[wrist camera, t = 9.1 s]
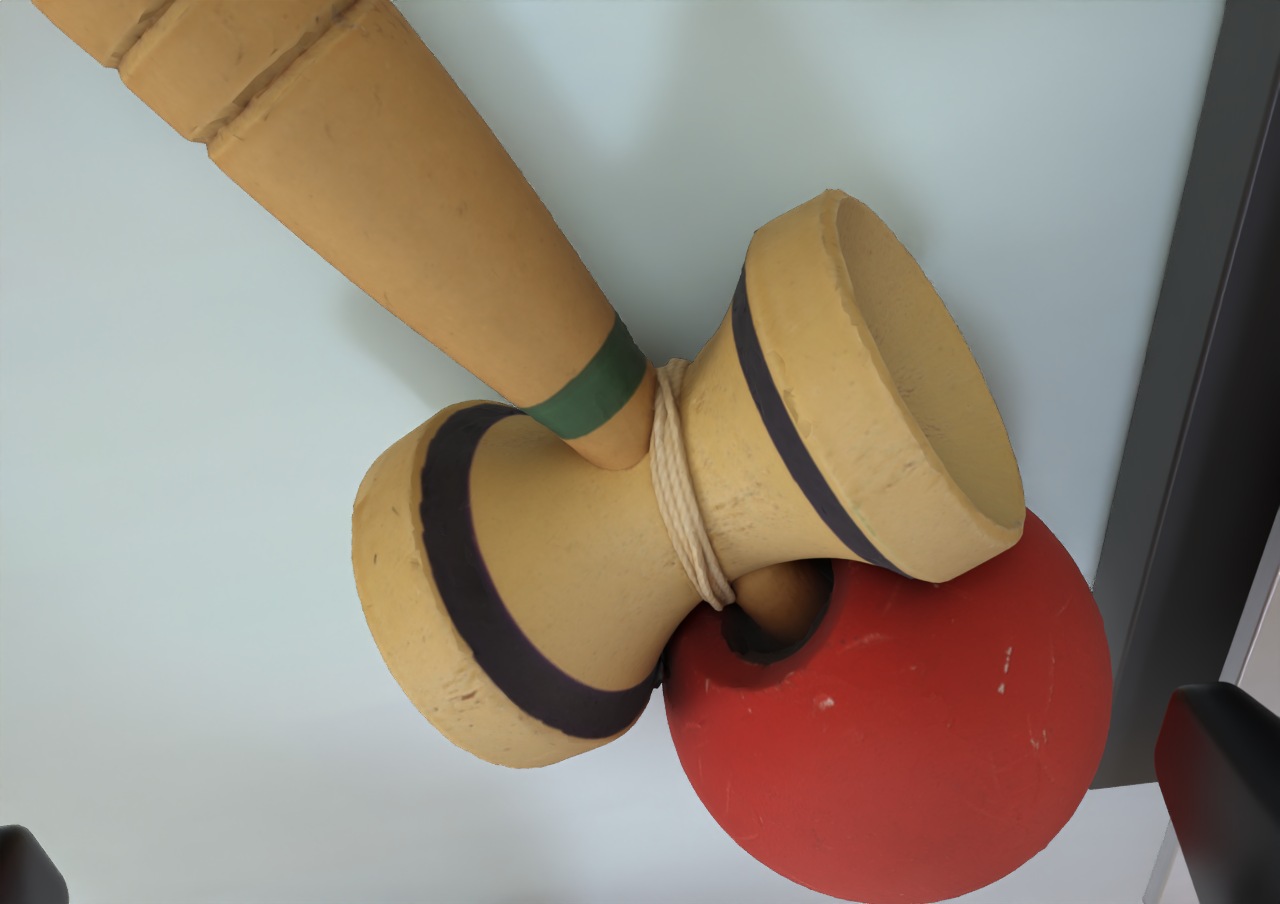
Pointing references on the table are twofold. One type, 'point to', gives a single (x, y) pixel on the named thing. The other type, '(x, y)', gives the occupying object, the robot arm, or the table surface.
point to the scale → (1201, 411)
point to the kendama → (666, 479)
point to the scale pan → (1257, 663)
